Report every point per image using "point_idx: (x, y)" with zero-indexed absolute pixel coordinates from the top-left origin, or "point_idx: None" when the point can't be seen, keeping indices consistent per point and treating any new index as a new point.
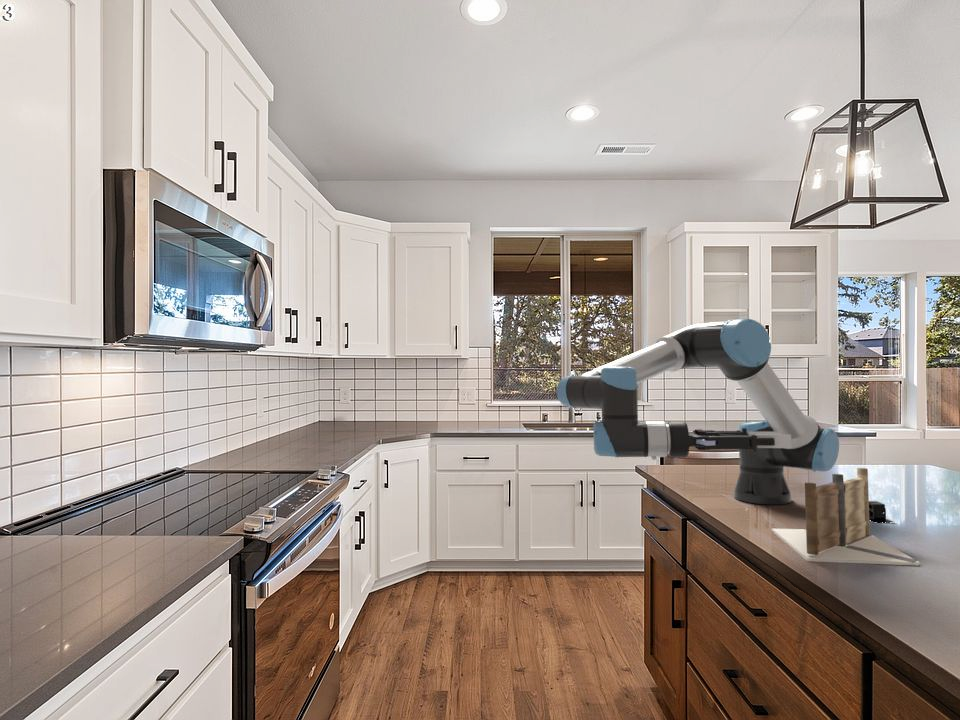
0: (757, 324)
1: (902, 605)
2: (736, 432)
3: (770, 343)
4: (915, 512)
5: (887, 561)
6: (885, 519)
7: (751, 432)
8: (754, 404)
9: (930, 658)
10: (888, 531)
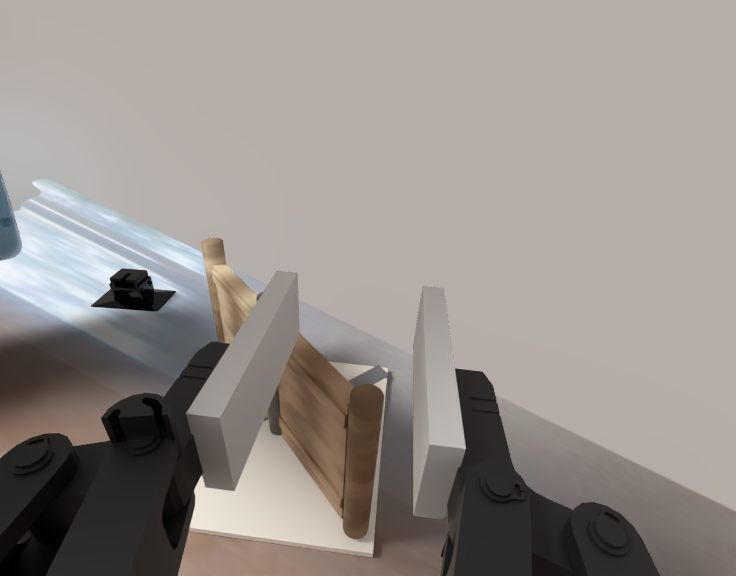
0: None
1: (616, 506)
2: (136, 535)
3: None
4: (139, 253)
5: (384, 404)
6: (154, 293)
7: (229, 402)
8: None
9: None
10: (209, 319)
